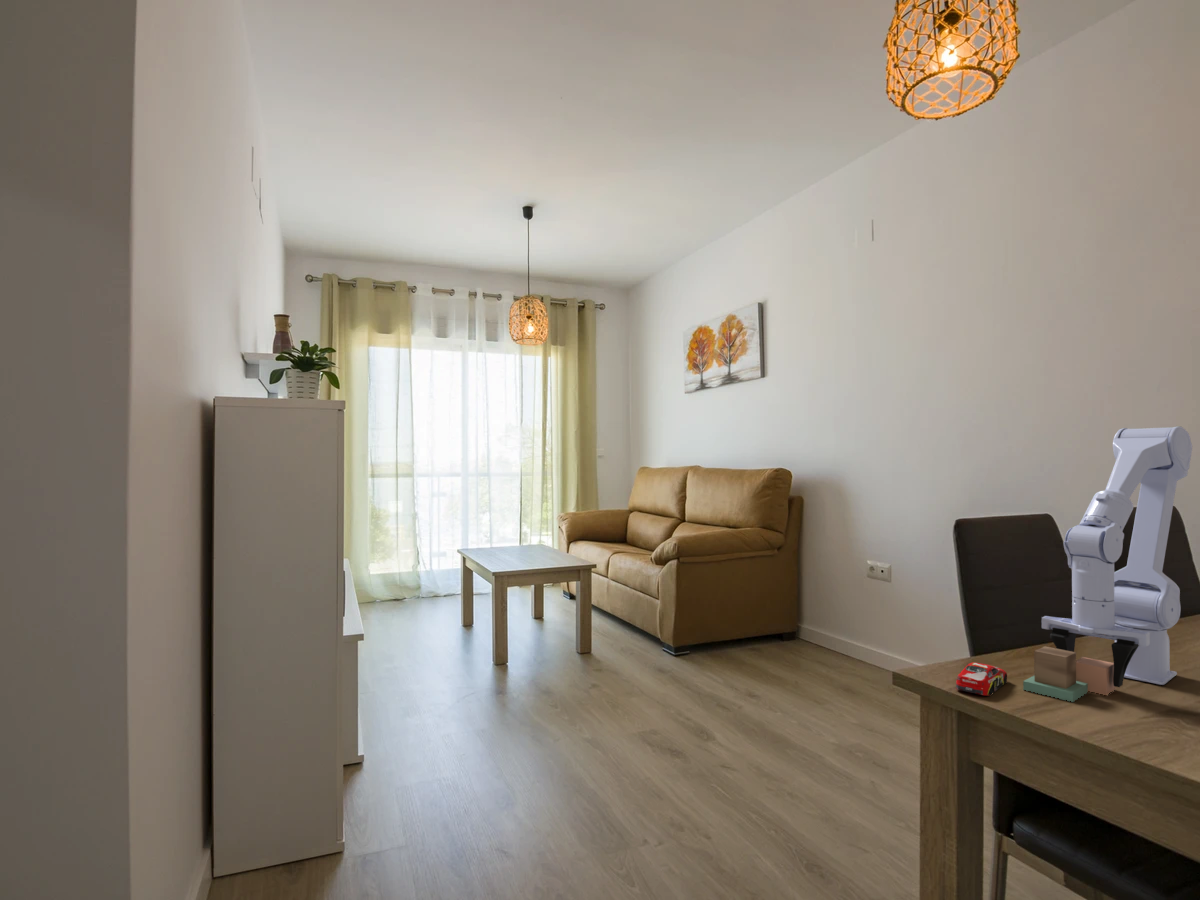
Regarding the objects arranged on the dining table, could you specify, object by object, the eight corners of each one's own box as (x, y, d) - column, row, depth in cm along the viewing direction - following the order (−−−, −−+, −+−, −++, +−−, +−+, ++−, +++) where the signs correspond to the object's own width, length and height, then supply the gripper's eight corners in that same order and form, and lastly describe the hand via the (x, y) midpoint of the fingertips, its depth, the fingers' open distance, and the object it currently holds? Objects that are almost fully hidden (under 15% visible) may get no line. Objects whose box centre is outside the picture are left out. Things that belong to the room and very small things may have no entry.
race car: (977, 675, 121) (977, 652, 121) (1011, 682, 117) (1011, 659, 117) (949, 692, 111) (949, 668, 112) (986, 701, 108) (986, 676, 108)
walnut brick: (1045, 676, 115) (1044, 646, 115) (1076, 683, 111) (1076, 652, 111) (1034, 681, 112) (1034, 650, 112) (1066, 688, 108) (1065, 657, 108)
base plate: (1039, 681, 116) (1039, 672, 116) (1087, 692, 111) (1087, 683, 111) (1023, 690, 112) (1023, 681, 112) (1073, 702, 106) (1072, 692, 106)
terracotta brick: (1083, 683, 116) (1083, 657, 116) (1115, 690, 112) (1115, 663, 112) (1073, 689, 113) (1073, 661, 113) (1106, 696, 109) (1106, 668, 109)
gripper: (1034, 594, 116) (1035, 674, 116) (1140, 609, 105) (1141, 697, 105) (1049, 589, 120) (1050, 666, 120) (1152, 603, 109) (1153, 687, 109)
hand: (1093, 680), depth 113 cm, fingers open, 6 cm apart
